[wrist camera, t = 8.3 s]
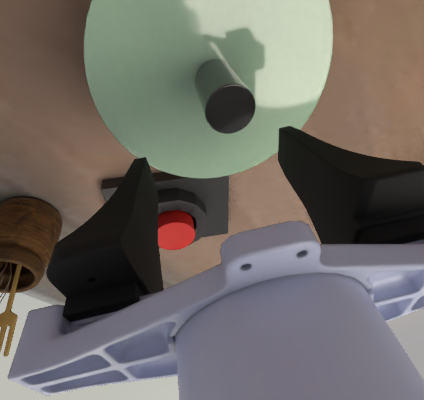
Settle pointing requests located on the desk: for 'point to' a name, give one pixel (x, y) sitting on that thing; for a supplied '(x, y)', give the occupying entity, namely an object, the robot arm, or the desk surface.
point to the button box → (189, 200)
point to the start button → (175, 230)
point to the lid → (206, 77)
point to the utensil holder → (24, 251)
